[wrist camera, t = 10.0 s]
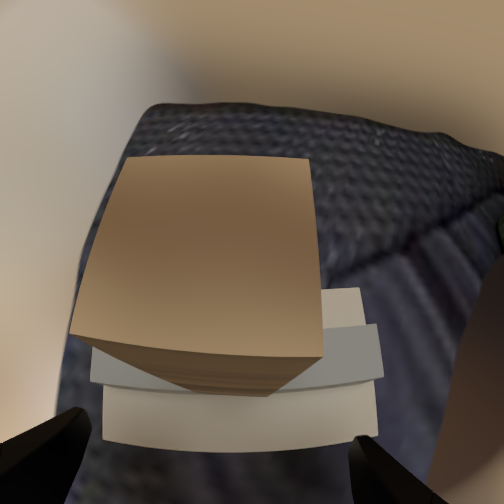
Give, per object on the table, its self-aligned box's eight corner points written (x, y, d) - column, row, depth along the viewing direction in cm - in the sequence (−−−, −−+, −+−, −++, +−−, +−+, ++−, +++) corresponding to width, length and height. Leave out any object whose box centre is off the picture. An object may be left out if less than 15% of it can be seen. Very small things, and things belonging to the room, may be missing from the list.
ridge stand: (373, 435, 18) (403, 437, 14) (107, 439, 17) (75, 441, 13) (356, 291, 24) (377, 264, 20) (117, 296, 23) (92, 270, 19)
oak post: (267, 397, 15) (323, 356, 4) (195, 392, 15) (69, 333, 4) (269, 330, 17) (308, 159, 6) (201, 326, 17) (127, 157, 6)
